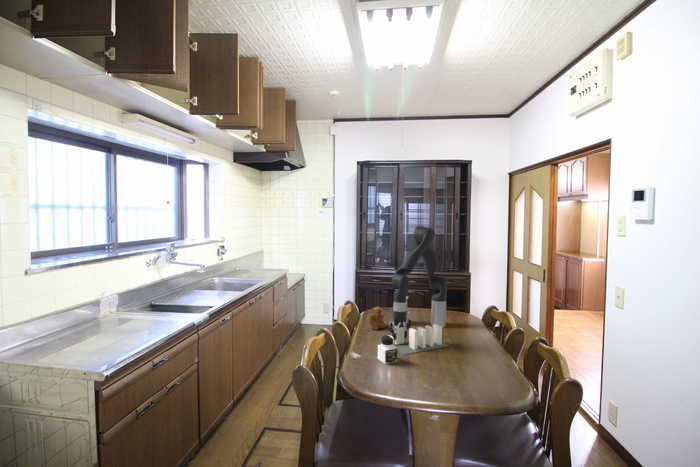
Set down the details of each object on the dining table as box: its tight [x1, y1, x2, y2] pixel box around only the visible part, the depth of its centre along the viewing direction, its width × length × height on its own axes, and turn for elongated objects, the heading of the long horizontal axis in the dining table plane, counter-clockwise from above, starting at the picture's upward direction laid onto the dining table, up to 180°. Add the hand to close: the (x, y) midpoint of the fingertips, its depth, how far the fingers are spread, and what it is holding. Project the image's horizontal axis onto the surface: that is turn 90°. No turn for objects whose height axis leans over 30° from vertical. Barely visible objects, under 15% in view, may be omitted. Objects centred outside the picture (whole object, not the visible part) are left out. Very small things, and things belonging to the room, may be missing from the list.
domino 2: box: [408, 327, 418, 350], centre depth 169 cm, size 2×5×10 cm, turn 24°
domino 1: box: [394, 326, 405, 345], centre depth 177 cm, size 2×5×10 cm, turn 114°
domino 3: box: [416, 326, 426, 348], centre depth 171 cm, size 2×5×10 cm, turn 24°
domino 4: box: [424, 325, 434, 347], centre depth 174 cm, size 2×5×10 cm, turn 24°
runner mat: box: [396, 341, 450, 356], centre depth 171 cm, size 10×30×1 cm, turn 114°
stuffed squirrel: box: [366, 306, 388, 331], centre depth 203 cm, size 10×14×13 cm
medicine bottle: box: [377, 334, 398, 365], centre depth 154 cm, size 7×7×12 cm
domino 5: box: [432, 324, 443, 345], centre depth 176 cm, size 2×5×10 cm, turn 25°
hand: (399, 338), depth 177 cm, fingers open, 6 cm apart
